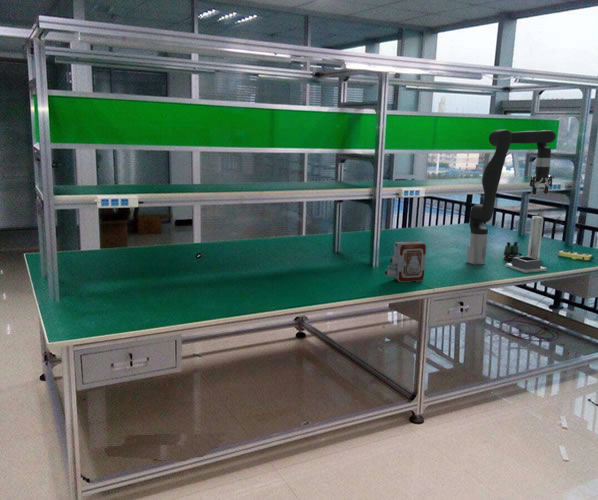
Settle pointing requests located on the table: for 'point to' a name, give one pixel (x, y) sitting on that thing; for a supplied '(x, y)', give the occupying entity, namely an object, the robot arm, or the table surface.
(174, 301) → the table surface
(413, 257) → the cine camera
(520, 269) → the mount
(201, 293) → the table surface
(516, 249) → the binoculars
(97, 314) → the table surface
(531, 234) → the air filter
